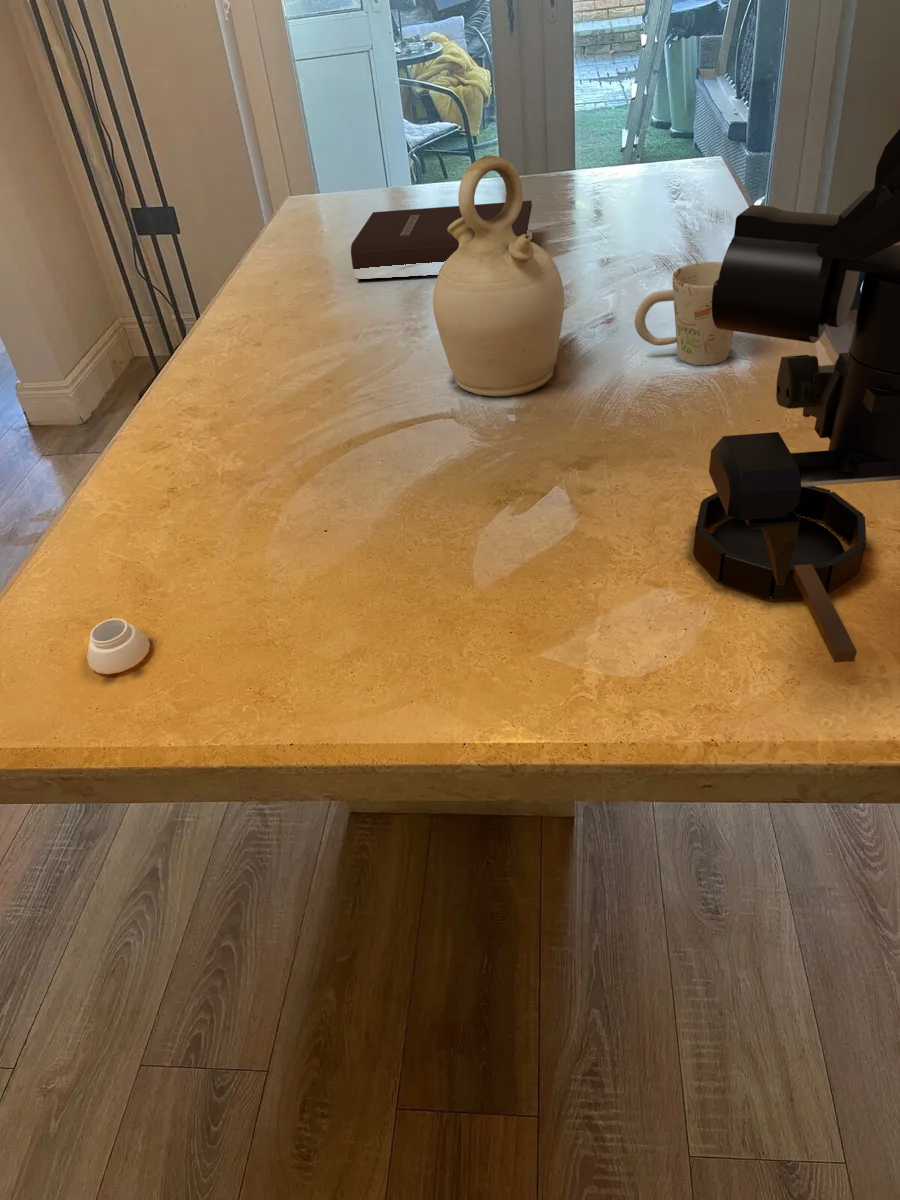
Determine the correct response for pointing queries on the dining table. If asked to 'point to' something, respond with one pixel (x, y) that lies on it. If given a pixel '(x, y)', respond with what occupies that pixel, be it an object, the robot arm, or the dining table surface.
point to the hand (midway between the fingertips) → (849, 576)
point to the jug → (497, 296)
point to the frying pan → (814, 565)
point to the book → (419, 234)
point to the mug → (690, 316)
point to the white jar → (116, 646)
